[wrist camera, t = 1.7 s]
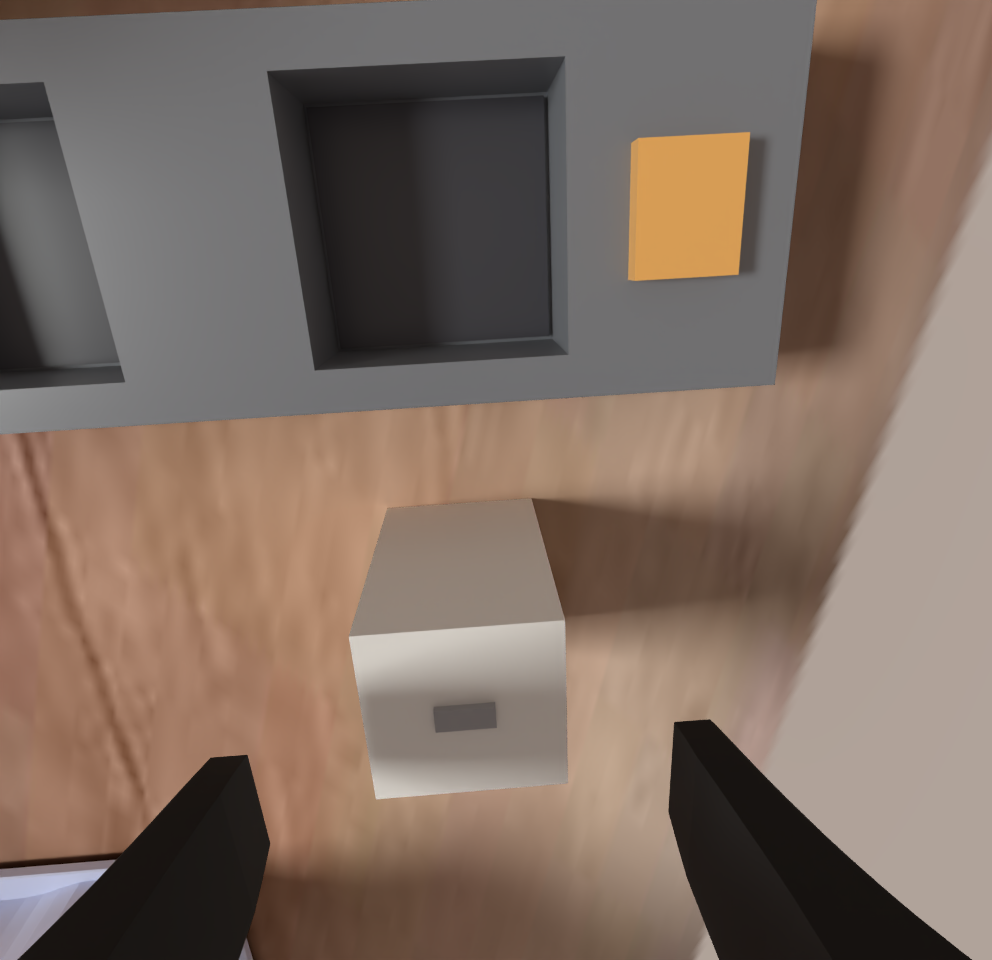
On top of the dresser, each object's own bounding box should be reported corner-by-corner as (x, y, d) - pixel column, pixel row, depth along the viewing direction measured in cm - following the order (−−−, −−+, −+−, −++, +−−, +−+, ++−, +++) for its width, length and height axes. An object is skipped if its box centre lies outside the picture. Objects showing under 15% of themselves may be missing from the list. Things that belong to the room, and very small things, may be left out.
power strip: (-69, 410, 15) (-216, 454, 12) (-197, 85, 13) (-428, 27, 9) (719, 361, 16) (786, 389, 12) (743, 39, 13) (835, -32, 10)
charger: (403, 630, 18) (375, 805, 12) (387, 507, 17) (347, 641, 11) (536, 620, 18) (569, 789, 12) (531, 497, 17) (566, 624, 11)
